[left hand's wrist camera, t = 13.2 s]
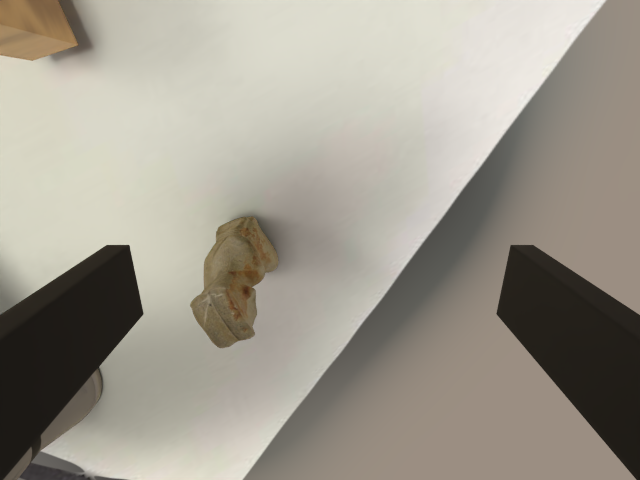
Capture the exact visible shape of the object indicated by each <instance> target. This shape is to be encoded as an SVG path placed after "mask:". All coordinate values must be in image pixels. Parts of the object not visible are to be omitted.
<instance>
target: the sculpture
mask: <svg viewBox="0 0 640 480" xmlns="http://www.w3.org/2000/svg"><path fill="white" fill-rule="evenodd" d="M277 266H278V256H277V253H276V251H275V249H274V247H273V246H272V244H271V243H270V241H269V240H268V238H267V237H266V236H265V234H264V233H263V232H262V230H261V229H260V227H259V225H258V222H257V220H256V219H255V218H254V217H252V216H251V217H247V218H246V217H242V218H238V219H235V220H233V221H230V222H228V223H226V224H224V225H222V226H220V227H219V228H218V231H217V232H216V244H215V245H214V246H213V248H212V249H211V251H210V252H209V254H208V255H207V257H206V259H205V262H204V290H203V292H202V294H200V295H199V296H197V297H196V298H195V299H194V300H193V301H192V302H191V304H190V306H191V308H192V310H193V314H194V316H195V318H196V320H197V322H198V323H199V325H200V326H201V327H202V328H203V330H204V331H205V332H206V334H207V335H208V336H209V338H210V339H211V341H212V342H213V343H214V344H215V345H216V346H217V347H219V348H225V347H229V346H231V345H233V344H234V343H235V342H237V341H241V340H246V339H249V338H251V337H253V336H254V335H255V332H254V330H253V328H252V326H253V323H254V319H255V317H256V315H257V309H256V303H255V299H256V291H255V289H254V288H252V287H253V286H254V285H256V284H258V283H259V282H260V281H261V280H262V279H263V278H264V275H265V273H266V272H271V271H273V270H275V269H276V267H277Z"/></svg>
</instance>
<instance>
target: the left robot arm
mask: <svg viewBox="0 0 640 480" xmlns="http://www.w3.org/2000/svg"><path fill="white" fill-rule="evenodd" d="M142 315H143V309H142V304H141V300H140V295H139V290H138V285H137V280H136V275H135V271H134V266H133V261H132V256H131V251H130V246H129V245H106V246H105V247H103V248H102V249H100V250H99V251H97V252H96V253H94V254H93V255H91V256H90V257H88V258H87V259H85V260H83V261H82V262H80V263H79V264H77V265H76V266H74V267H73V268H71V269H70V270H68V271H67V272H65V273H64V274H62V275H61V276H59V277H58V278H56V279H55V280H53V281H51V282H50V283H48V284H47V285H45V286H44V287H42V288H41V289H39V290H38V291H36V292H35V293H33V294H32V295H30V296H29V297H27V298H26V299H24V300H23V301H21V302H19V303H18V304H16V305H15V306H13V307H12V308H10V309H9V310H7V311H6V312H4V313H3V314H1V315H0V480H17V479H18V478H19V476H20V475H21V474H22V473H23V471H24V470H25V469H26V468H27V466H28V465H29V464H30V463H31V461H32V460H33V459H34V458H35V456H36V455H37V454H38V453H39V452H40V451H41V450H42V449H43V448H44V447H46V446H47V445H49V444H50V443H51V442H53V441H54V440H55V439H57V438H58V437H60V436H61V435H62V434H64V433H65V432H66V431H68V430H69V429H71V428H72V427H73V426H75V425H76V424H77V423H79V422H80V421H81V420H82V419H83V418H84V417H85V416H86V415H87V414H88V413H89V412H90V411H91V409H92V408H93V407H94V405H95V404H96V403H97V401H98V399H99V397H100V395H101V391H102V381H101V376H100V373H99V370H98V367H99V366H100V365H101V364H102V362H103V361H104V360H105V359H106V358H107V357H108V355H109V354H110V353H111V352H112V351H113V349H114V348H115V347H116V346H117V345H118V344H119V342H120V341H121V340H122V339H123V338H124V336H125V335H126V334H127V333H128V332H129V331H130V329H131V328H132V327H133V326H134V325H135V323H136V322H137V321H138V320H139V319H140V318H141V316H142ZM497 315H498V316H499V318H500V319H501V320H502V321H503V322H504V323H505V325H506V326H507V327H508V328H509V329H510V331H511V332H512V333H513V334H514V335H515V336H516V338H517V339H518V340H519V341H520V342H521V344H522V345H523V346H524V347H525V348H526V349H527V351H528V352H529V353H530V354H531V355H532V356H533V358H534V359H535V360H536V361H537V362H538V364H539V365H540V366H541V367H542V368H543V370H544V371H545V372H546V373H547V374H548V375H549V377H550V378H551V379H552V380H553V381H554V382H555V384H556V385H557V386H558V387H559V388H560V390H561V391H562V392H563V393H564V394H565V396H566V397H567V398H568V399H569V400H570V401H571V403H572V404H573V405H574V406H575V407H576V409H577V410H578V411H579V412H580V413H581V415H582V416H583V417H584V418H585V419H586V420H587V422H588V423H589V424H590V425H591V426H592V428H593V429H594V430H595V431H596V432H597V433H598V435H599V436H600V437H601V438H602V439H603V440H604V442H605V443H606V444H607V445H608V446H609V448H610V449H611V450H612V451H613V452H614V454H615V455H616V456H617V457H618V458H619V459H620V461H621V462H622V463H623V464H624V465H625V466H626V468H627V469H628V470H629V471H630V472H631V474H632V475H633V476H634V477H635V478H636V480H640V315H639V314H637V313H636V312H634V311H633V310H631V309H630V308H628V307H627V306H625V305H624V304H622V303H621V302H619V301H617V300H616V299H614V298H613V297H611V296H610V295H608V294H607V293H605V292H604V291H602V290H601V289H599V288H598V287H596V286H595V285H593V284H592V283H590V282H589V281H587V280H585V279H584V278H582V277H581V276H579V275H578V274H576V273H575V272H573V271H572V270H570V269H569V268H567V267H566V266H564V265H563V264H561V263H560V262H558V261H557V260H555V259H553V258H552V257H550V256H549V255H547V254H546V253H544V252H543V251H541V250H540V249H538V248H537V247H535V246H534V245H511V247H510V251H509V256H508V261H507V266H506V271H505V276H504V280H503V285H502V290H501V295H500V300H499V304H498V310H497Z"/></svg>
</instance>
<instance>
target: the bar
mask: <svg viewBox="0 0 640 480" xmlns="http://www.w3.org/2000/svg"><path fill="white" fill-rule="evenodd" d="M77 45H78V43H77V41H76V39H75V36H74V34H73V32H72V30H71V28H70V25H69V23H68V21H67V19H66V17H65V15H64V12H63V10H62V8H61V6H60V4H59V1H58V0H0V55H2V56H8V57H14V58H20V59H25V60H31V61H33V60H36V59H39V58H42V57H45V56H48V55H51V54H54V53H57V52H60V51H63V50H66V49H69V48H72V47H75V46H77Z"/></svg>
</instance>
